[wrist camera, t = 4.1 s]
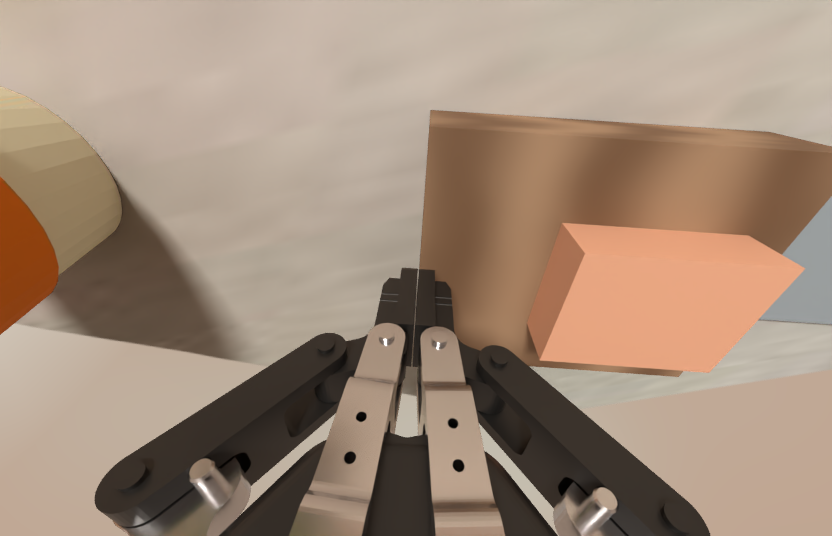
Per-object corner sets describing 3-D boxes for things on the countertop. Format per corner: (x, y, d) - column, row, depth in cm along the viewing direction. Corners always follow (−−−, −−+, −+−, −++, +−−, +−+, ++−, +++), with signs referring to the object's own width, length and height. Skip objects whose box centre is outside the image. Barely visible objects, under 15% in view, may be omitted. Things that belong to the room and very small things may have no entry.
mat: (1002, 191, 16) (1017, 194, 15) (851, 321, 21) (860, 326, 20) (742, 174, 16) (750, 177, 15) (655, 307, 21) (660, 312, 21)
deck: (769, 132, 15) (866, 154, 11) (642, 328, 22) (678, 376, 19) (430, 110, 15) (429, 126, 12) (416, 312, 22) (413, 357, 19)
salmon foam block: (748, 235, 13) (805, 268, 11) (675, 333, 17) (709, 372, 15) (561, 223, 14) (585, 253, 11) (526, 323, 17) (539, 360, 15)
